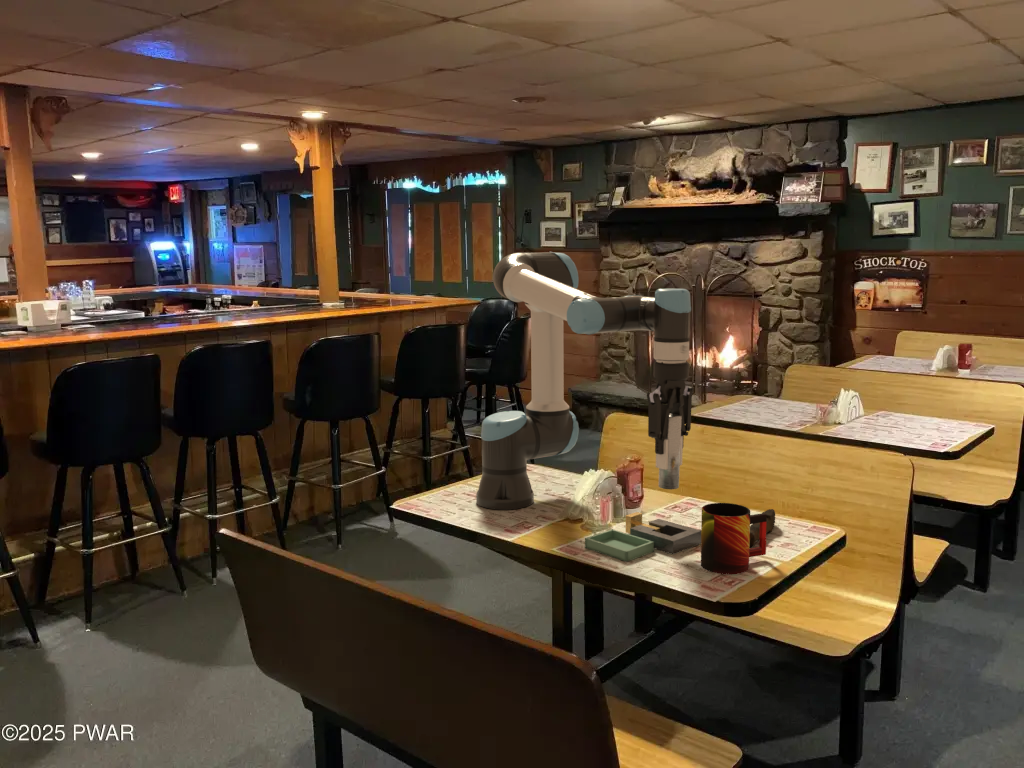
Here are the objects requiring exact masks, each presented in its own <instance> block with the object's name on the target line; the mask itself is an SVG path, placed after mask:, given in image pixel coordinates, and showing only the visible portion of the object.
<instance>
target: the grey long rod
mask: <svg viewBox="0 0 1024 768" xmlns="http://www.w3.org/2000/svg"><path fill="white" fill-rule="evenodd" d="M681 423H682V416H681V415H677V414H671V412H670V415H669V421H668V427H667V433H666V439H667V440H668V469H666V470H665V469H661V468H658V488H661V489H663V490H677V489H679V486H680V467H681V465H680V446H681Z"/></svg>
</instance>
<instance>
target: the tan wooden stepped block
mask: <svg viewBox="0 0 1024 768" xmlns="http://www.w3.org/2000/svg"><path fill="white" fill-rule="evenodd" d="M638 525H643V526H646V527H650V528H653V529H655V532H659V533H660V528H658V527H655V526H651V525H649V523H648V524H647V523H644V522H643V513H642V512H638V511H635V512H632V513H630V514H629V513H628V514H626V515H625V533H627V534H630V528H633V527H636V526H638Z"/></svg>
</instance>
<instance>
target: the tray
mask: <svg viewBox="0 0 1024 768" xmlns="http://www.w3.org/2000/svg"><path fill="white" fill-rule="evenodd" d="M584 548H585V549H587V550H590V551H593V552H596V553H599V554H602V555H605V556H608V557H611V558H614V559H617V560H620V561H622V562H625V563H627V562H630V561H633V560H635V559H638V558H642V557H643V556H646V555H650V554H652V553H654V552H655V549H654V542H653V541H650V540H646V539H643V538H640V537H637V536H633V535H630V533H626V532H622V531H621V530H616V529H614V528H612V529H609V530H606V531H605V530H604V531H602V532H599V533H596V534H593V535H590V536H588V537H585V538H584Z"/></svg>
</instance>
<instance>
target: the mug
mask: <svg viewBox="0 0 1024 768" xmlns="http://www.w3.org/2000/svg"><path fill="white" fill-rule="evenodd" d="M766 519H767V514H765V513H763V512H761V513H756V514H751V509H750V508H748V507H747V506H745V505H742V504H737V503H732V502H731V503H729V502H714V503H712V502H711V503H709V504H705V505H703V506H702V507H701V529H700V530H701V544H700V567H701V568H702V569H704V570H705V571H707V572H711V573H713V574H719V575H726V576H728V575H730V576H733V575H741V574H743V573H746V572H748V571H749V569H750V558H753V557H760V556H765V555H767V533H766ZM755 523H760V533H759V540H758V542H759V543H758V546H757V547H752V548H749V545H750V526H751V525H752V524H755Z"/></svg>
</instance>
